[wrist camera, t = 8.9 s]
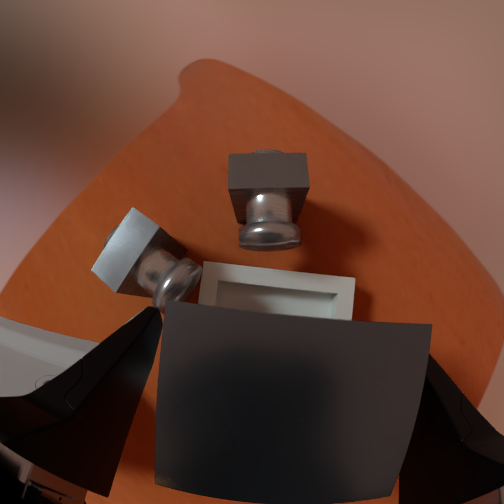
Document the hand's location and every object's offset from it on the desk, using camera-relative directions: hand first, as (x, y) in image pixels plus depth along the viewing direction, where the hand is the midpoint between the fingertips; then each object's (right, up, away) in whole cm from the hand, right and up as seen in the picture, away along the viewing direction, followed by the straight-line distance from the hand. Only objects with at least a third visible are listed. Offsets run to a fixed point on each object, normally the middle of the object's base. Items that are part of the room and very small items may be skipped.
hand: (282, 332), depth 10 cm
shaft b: (-7, +1, +9) cm, 11 cm away
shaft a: (0, +5, +10) cm, 11 cm away
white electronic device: (-19, -7, +8) cm, 22 cm away
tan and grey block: (0, -3, +7) cm, 8 cm away
